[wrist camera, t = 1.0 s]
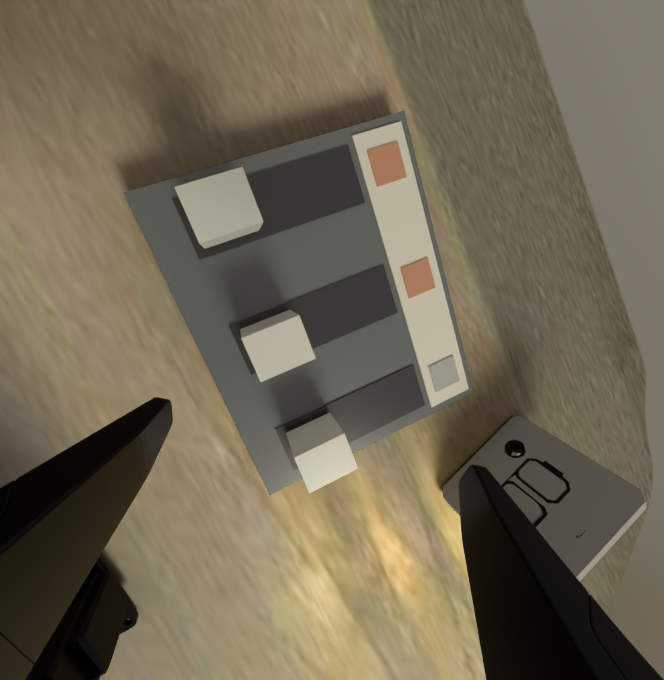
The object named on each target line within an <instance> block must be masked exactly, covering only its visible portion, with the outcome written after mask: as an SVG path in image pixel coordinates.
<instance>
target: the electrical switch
mask: <svg viewBox="0 0 664 680" xmlns="http://www.w3.org/2000/svg"><path fill="white" fill-rule="evenodd" d="M519 453H521V454H520V455H519V456H517V455H518V454H519ZM472 464H475V465H480V466H484V467H486V468H487V469H488V470H489V471H490V472H491V474H492V475H493V476H494V477H495V479H496V480H497V481H498V482H499V483H500V485H501V486H502V487H503V488H504V490H505V491H506V492H507V493H508V494H509V496H510V497H511V498H512V499H513V501H514V502H515V503H516V504H517V505H518V507H519V508H520V509H521V510H522V512H523V513H524V514H525V515H526V516H527V518H528V519H529V520H530V521H531V523H532V524H533V525H534V526H535V527H536V529H537V530H538V531H539V532H540V534H541V535H542V536H543V537H544V539H545V540H546V541H547V542H548V543H549V545H550V546H551V547H552V548H553V550H554V551H555V552H556V553H557V554H558V556H559V557H560V558H561V559H562V561H563V562H564V563H565V564H566V565H567V567H568V568H569V569H570V570H571V572H572V573H573V574H574V575H575V576H576V578H577V579H578V580H579V581H581V579H582V578H583V577H584V576H585V575H586V574H587V573H588V572H589V571H590V570H591V568H592V567H593V566H594V565H595V564H596V563H597V562H598V561H599V560H600V559H601V557H602V556H603V555H604V554H605V553H606V552H607V551H608V550H609V549H610V548H611V546H612V545H613V544H614V543H615V542H616V541H617V540H618V539H619V538H620V537H621V535H622V534H623V533H624V532H625V531H626V530H627V529H628V528H629V527H630V526H631V525H632V523H633V522H634V521H635V520H636V519H637V518H638V517H639V516H640V515H641V514H642V512H643V511H644V510H645V509H646V507H647V506H646V501H645V499H644V497H643V495H642V492H641V490H640V489H639V488H637V487H635V486H634V485H632V484H630V483H629V482H627V481H626V480H624V479H622V478H621V477H619V476H618V475H616V474H614V473H613V472H611V471H609V470H608V469H606V468H605V467H603V466H601V465H600V464H598V463H597V462H595V461H593V460H592V459H590V458H588V457H587V456H585V455H584V454H582V453H580V452H579V451H577V450H576V449H574V448H572V447H571V446H569V445H567V444H566V443H564V442H563V441H561V440H559V439H558V438H556V437H555V436H553V435H551V434H550V433H548V432H546V431H545V430H543V429H542V428H540V427H538V426H537V425H535V424H534V423H532V422H530V421H529V420H527V419H525V418H524V417H517V416H516V417H513V418H511V419H510V420H509V421H508V422H507V423H506V424H505V425H504V426H503V427H502V428H501V429H500V430H499V431H498V432H497V433H496V434H495V435H494V436H493V437H492V438H491V439H490V440H489V441H488V442H487V443H486V444H485V445H484V446H483V447H482V448H481V449H480V450H479V451H478V452H477V453H476V454H475V455H474V456H473V457H472V458H471V459H470V460H469V461H468V462H467V463H466V464H465V465H464V466H463V467H462V468H461V469H460V470H459V471H458V472H457V473H456V474H455V475H454V476H453V477H452V478H451V479H450V480H449V481H448V482H447V483H446V484H445V485H444V486H443V489H442V490H443V497H444V498H445V500H446V501H447V503H448V504H449V505H450V506H451V507H452V508H453V509H454V510H455V511H456V512H457V513H458V514H459V515H460V503H459V489H458V485H459V480H460V478H461V477H462V475H463V474H464V473H465V471H466V470H467V469H468V467H469V466H470V465H472Z"/></svg>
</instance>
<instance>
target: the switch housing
mask: <svg viewBox="0 0 664 680" xmlns="http://www.w3.org/2000/svg"><path fill="white" fill-rule="evenodd" d="M240 167H243V169H244V172H245V175H246V177H247V180H248V182H249V185H250V188H251V190H252V193H253V195H254V198H255V201H256V203H257V206H258V209H259V211H260V214H261V216H262V219H263V224H262V226H261V228H260V229H259V231H256V232H253V233H250V234H247V235H244V236H241V237H238V238H235V239H232V240H230V241H227V242H224V243H221V244H218V245H215V246H212V247H209V248H206V249H204V248H203V247H202V246H201V245H200V244H199V242H198V240H197V237H196V235H195V233H194V231H193V228H192V226H191V224H190V222H189V219H188V217H187V215H186V213H185V210H184V208H183V206H182V204H181V201H180V199H179V197H178V194H177V192H176V190H175V188H174V187H176V186H179V185H182V184H186V183H189V182H193V181H196V180H199V179H203V178H206V177H209V176H213V175H216V174H220V173H223V172H226V171H230V170H233V169H236V168H240ZM124 195H125V197H126V199H127V201H128V203H129V205H130V207H131V209H132V211H133V214H134V216H135V218H136V220H137V222H138V224H139V226H140V228H141V230H142V232H143V234H144V236H145V238H146V240H147V243H148V245H149V247H150V249H151V251H152V253H153V255H154V257H155V259H156V261H157V263H158V265H159V267H160V269H161V271H162V274H163V276H164V278H165V280H166V282H167V284H168V286H169V288H170V290H171V292H172V294H173V296H174V298H175V300H176V302H177V305H178V307H179V309H180V311H181V313H182V315H183V317H184V319H185V321H186V323H187V325H188V327H189V329H190V331H191V333H192V336H193V338H194V340H195V342H196V344H197V346H198V348H199V350H200V352H201V354H202V356H203V358H204V360H205V362H206V364H207V367H208V369H209V371H210V373H211V375H212V377H213V379H214V381H215V383H216V385H217V387H218V389H219V391H220V393H221V395H222V398H223V400H224V402H225V404H226V406H227V408H228V410H229V412H230V414H231V416H232V418H233V420H234V422H235V424H236V426H237V429H238V431H239V433H240V435H241V437H242V439H243V441H244V443H245V445H246V447H247V449H248V451H249V453H250V455H251V457H252V460H253V462H254V464H255V466H256V468H257V470H258V472H259V474H260V476H261V478H262V480H263V482H264V484H265V486H266V488H267V491H268V493H269V495H271V494H273V493H275V492H277V491H279V490H281V489H283V488H285V487H287V486H289V485H291V484H293V483H295V482H297V481H299V480H301V479H303V477H302V475H301V473H300V470H299V468H298V466H297V464H296V461H295V459H294V456H293V453H292V450H291V447H290V444H289V441H288V438H287V435H286V433H287V432H289V431H291V430H293V429H295V428H298V427H300V426H302V425H304V424H306V423H308V422H310V421H312V420H315V419H317V418H319V417H321V416H323V415H325V414H327V413H329V412H330V413H331V415H332V416H333V418H334V419H335V420H336V422H337V423H338V425H339V426H340V427H341V429H342V430H343V432H344V433H345V436H346V438H347V441H348V443H349V446H350V449H351V451H352V453H354V452H356V451H358V450H360V449H362V448H364V447H366V446H368V445H370V444H372V443H374V442H376V441H378V440H380V439H382V438H384V437H386V436H388V435H390V434H392V433H394V432H396V431H398V430H400V429H402V428H404V427H406V426H408V425H410V424H412V423H414V422H416V421H418V420H420V419H422V418H424V417H426V416H428V415H430V414H432V413H434V412H436V411H438V410H440V409H442V408H443V407H445V406H447V405H449V404H451V403H453V402H455V401H457V400H459V399H461V398H463V397H465V396H467V395H469V394H471V393H473V392H474V390H473V386H472V382H471V378H470V374H469V370H468V366H467V362H466V358H465V354H464V350H463V346H462V342H461V338H460V334H459V330H458V326H457V322H456V318H455V314H454V310H453V306H452V302H451V298H450V294H449V290H448V286H447V282H446V278H445V274H444V270H443V266H442V262H441V258H440V254H439V250H438V246H437V242H436V238H435V234H434V230H433V226H432V222H431V218H430V214H429V210H428V206H427V202H426V198H425V193H424V189H423V185H422V181H421V177H420V173H419V169H418V165H417V161H416V157H415V153H414V149H413V145H412V141H411V137H410V133H409V129H408V125H407V121H406V117H405V113H404V111H402V112H398V113H395V114H391V115H388V116H385V117H381V118H378V119H374V120H371V121H367V122H364V123H361V124H357V125H354V126H350V127H347V128H343V129H340V130H337V131H333V132H330V133H326V134H323V135H319V136H316V137H313V138H309V139H306V140H302V141H299V142H295V143H292V144H288V145H285V146H282V147H278V148H275V149H271V150H268V151H264V152H261V153H258V154H254V155H251V156H247V157H244V158H240V159H237V160H234V161H230V162H227V163H223V164H220V165H216V166H213V167H210V168H206V169H203V170H199V171H196V172H192V173H189V174H186V175H182V176H179V177H175V178H172V179H168V180H165V181H162V182H158V183H155V184H151V185H148V186H144V187H141V188H138V189H134V190H131V191H127V192H124ZM288 310H291V311H293V312H295V313H297V314H298V315H299V316H300V318H301V321H302V323H303V326H304V329H305V331H306V334H307V336H308V339H309V342H310V344H311V347H312V350H313V352H314V355H315V357H316V359H314V360H311V361H309V362H307V363H304V364H302V365H300V366H298V367H295V368H293V369H291V370H288V371H286V372H284V373H281V374H279V375H277V376H274V377H272V378H270V379H267V380H265V381H263V382H260V380H259V378H258V375H257V373H256V371H255V369H254V366H253V364H252V362H251V360H250V357H249V355H248V353H247V351H246V348H245V346H244V344H243V341H242V339H241V332H240V329H242V328H244V327H247V326H250V325H252V324H255V323H257V322H260V321H262V320H265V319H267V318H270V317H272V316H275V315H277V314H280V313H282V312H285V311H288Z"/></svg>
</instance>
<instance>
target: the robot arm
mask: <svg viewBox="0 0 664 680" xmlns="http://www.w3.org/2000/svg"><path fill="white" fill-rule="evenodd" d="M172 421H173V417H172V406H171V401H170V400H168V399H163V398H159V397H156V398H153V399H151V400H150V401H148V402H146V403H144V404H143V405H141V406H139V407H138V408H136V409H134V410H133V411H131V412H129V413H127V414H126V415H124V416H122V417H121V418H119V419H117V420H116V421H114V422H112V423H110V424H109V425H107V426H105V427H104V428H102V429H100V430H99V431H97V432H95V433H93V434H92V435H90V436H88V437H87V438H85V439H83V440H82V441H80V442H78V443H76V444H75V445H73V446H71V447H70V448H68V449H66V450H65V451H63V452H61V453H59V454H58V455H56V456H54V457H53V458H51V459H49V460H48V461H46V462H44V463H42V464H41V465H39V466H37V467H36V468H34V469H32V470H31V471H29V472H27V473H25V474H24V475H22V476H20V477H19V478H17V479H16V481H12V482H10V483H8V484H7V485H5V486H3V487H1V488H0V680H99V679H100V676H101V675H103V674H105V673H106V672H107V670H108V668H109V665H110V662H111V659H112V656H113V653H114V650H115V647H116V644H117V640H118V637H119V634H121V633H123V632H125V631H126V630H128V629H130V628H132V627H133V626H134V625H135V624H136V622H137V618H138V612H137V611H136V609H135V608H134V606H133V605H132V604H131V602H130V599H129V597H128V596H127V594H126V593H125V591H124V590H123V589H122V587H121V586H120V584H119V583H118V581H117V580H116V579H115V577H114V576H113V574H112V573H110V572H109V571H108V569H107V568H106V567H105V565H104V564H103V562H102V561H101V559H100V558H99V556H100V554H101V553H102V551H103V550H104V548H105V546H106V545H107V543H108V541H109V540H110V538H111V536H112V535H113V533H114V531H115V530H116V528H117V526H118V525H119V523H120V521H121V520H122V518H123V516H124V515H125V513H126V512H127V510H128V508H129V507H130V505H131V503H132V502H133V500H134V498H135V497H136V495H137V493H138V492H139V490H140V488H141V487H142V485H143V483H144V482H145V480H146V478H147V476H148V474H149V472H150V470H151V468H152V466H153V464H154V462H155V460H156V458H157V456H158V453H159V451H160V449H161V447H162V445H163V443H164V441H165V438H166V436H167V434H168V432H169V430H170V428H171V425H172ZM458 489H459V503H460V518H461V532H462V541H463V548H464V553H465V559H466V565H467V571H468V576H469V582H470V588H471V594H472V599H473V605H474V611H475V617H476V623H477V628H478V634H479V640H480V646H481V651H482V657H483V663H484V669H485V674H486V680H663V678H662V677H661V676H660V675H659V674H658V673H657V672H656V671H655V669H654V668H653V667H652V666H651V665H650V664H649V663H648V662H647V661H646V659H645V658H644V657H643V656H642V655H641V654H640V653H639V651H637V649H636V648H635V647H634V646H633V645H632V644H631V642H630V641H629V640H628V639H627V638H626V637H625V636H624V634H623V633H622V632H621V631H620V630H619V629H618V627H617V626H616V625H615V624H614V623H613V622H612V620H611V619H610V618H609V617H608V615H607V614H606V613H605V612H604V611H603V609H602V608H601V607H600V606H599V604H598V603H597V602H596V601H595V600H594V598H593V597H592V596H591V595H588V591H587V590H586V589H585V587H584V586H583V585H582V584H581V583H580V581H579V580H578V579H577V578H576V576H575V575H574V574H573V573H572V572H571V570H570V569H569V568H568V567H567V565H566V564H565V563H564V562H563V561H562V559H561V558H560V557H559V556H558V554H557V553H556V552H555V551H554V550H553V548H552V547H551V546H550V545H549V543H548V542H547V541H546V540H545V539H544V537H543V536H542V535H541V534H540V532H539V531H538V530H537V529H536V527H535V526H534V525H533V524H532V523H531V521H530V520H529V519H528V518H527V516H526V515H525V514H524V513H523V512H522V510H521V509H520V508H519V507H518V505H517V504H516V503H515V502H514V501H513V499H512V498H511V497H510V496H509V494H508V493H507V492H506V491H505V490H504V488H503V487H502V486H501V485H500V483H499V482H498V481H497V480H496V479H495V477H494V476H493V475H492V474H491V472H490V471H489V470H488V469H487V468H486V467H484V466H480V465H475V464H472V465H470V466H469V467H468V469H467V470H466V471H465V473H464V474H463V475H462V477H461V478H460V480H459V485H458ZM127 619H130V620H127Z"/></svg>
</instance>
